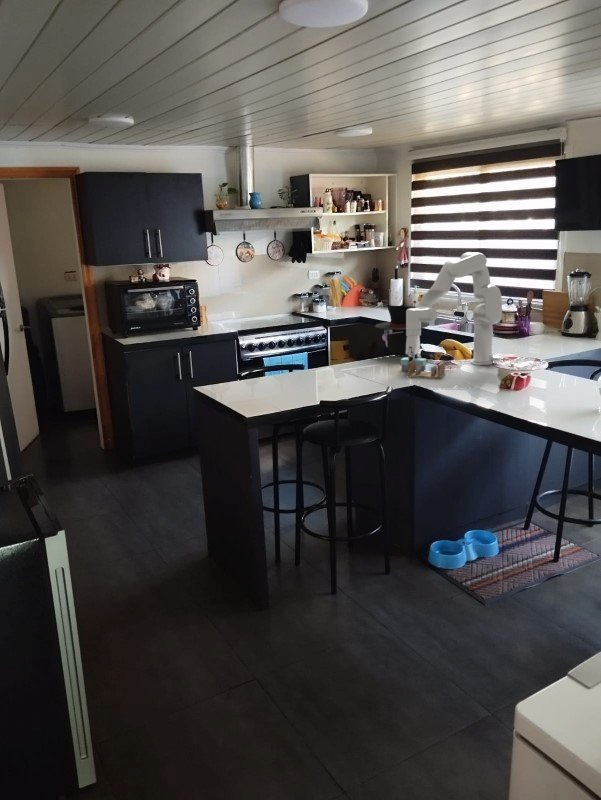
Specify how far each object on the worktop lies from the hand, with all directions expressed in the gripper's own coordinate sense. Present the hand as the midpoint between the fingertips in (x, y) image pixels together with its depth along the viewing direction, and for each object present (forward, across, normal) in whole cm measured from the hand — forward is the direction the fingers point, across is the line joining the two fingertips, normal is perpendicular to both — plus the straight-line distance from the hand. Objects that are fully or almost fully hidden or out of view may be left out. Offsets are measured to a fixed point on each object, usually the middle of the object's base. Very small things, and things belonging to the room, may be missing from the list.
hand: (413, 366), depth 327 cm
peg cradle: (+2, +11, +10) cm, 15 cm away
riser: (+2, 0, 0) cm, 2 cm away
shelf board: (-1, 0, 0) cm, 1 cm away
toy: (+2, -35, -18) cm, 39 cm away
